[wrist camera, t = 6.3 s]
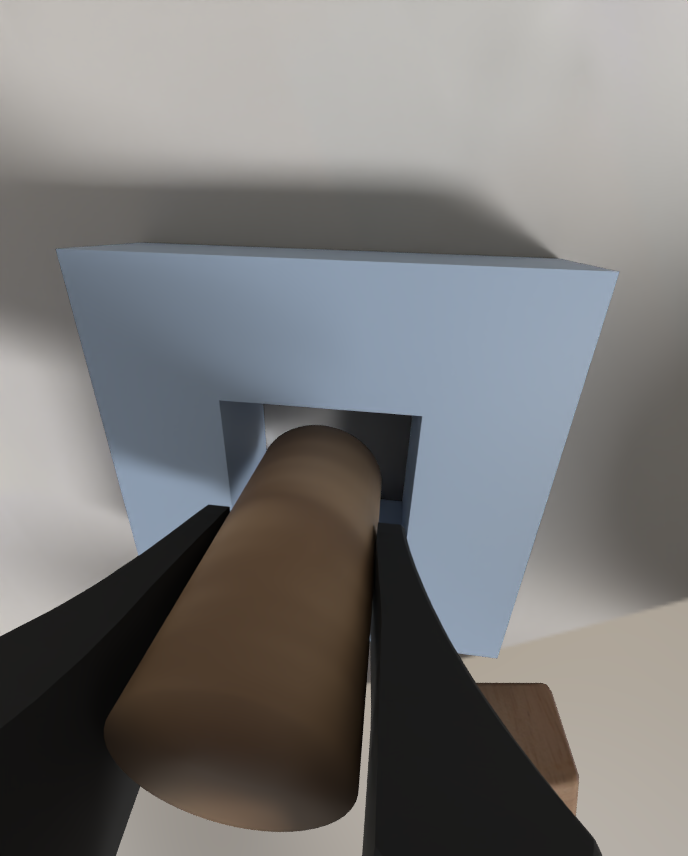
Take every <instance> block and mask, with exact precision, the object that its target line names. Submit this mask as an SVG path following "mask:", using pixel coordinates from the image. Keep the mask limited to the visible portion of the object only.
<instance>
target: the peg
mask: <svg viewBox="0 0 688 856" xmlns="http://www.w3.org/2000/svg"><path fill="white" fill-rule="evenodd" d="M381 483H382V480H381V472H380V469H379V466H378V463H377V461H376V459H375V457H374V456H373V454H372V453H371V452H370V450H369V449H368V448H367V447H366V446H365V445H364V444H363V443H362V442H361V441H360V440H358V439H357V438H355V437H354V436H352V435H350V434H349V433H347V432H345V431H342V430H340V429H337V428H333V427H329V426H322V425H309V426H302V427H298V428H295V429H292V430H289V431H287V432H285V433H284V434H282V435H281V436H279V437H278V438H277V439H276V440H275V441H273V443H272V444H271V445H270V446H269V448H268V449H267V451H266V453H265V454H264V456H263V458H262V459H261V461H260V463H259V464H258V466H257V468H256V469H255V471H254V473H253V474H252V476H251V478H250V480H249V481H248V483H247V485H246V486H245V488H244V490H243V491H242V493H241V495H240V496H239V498H238V500H237V501H236V503H235V505H234V506H233V508H232V510H231V511H230V513H229V515H228V516H227V518H226V520H225V521H224V523H223V525H222V526H221V528H220V530H219V531H218V533H217V535H216V536H215V538H214V540H213V541H212V543H211V545H210V546H209V548H208V550H207V551H206V553H205V555H204V556H203V558H202V560H201V561H200V563H199V565H198V567H197V568H196V570H195V572H194V573H193V575H192V577H191V578H190V580H189V582H188V583H187V585H186V587H185V588H184V590H183V592H182V593H181V595H180V597H179V598H178V600H177V602H176V603H175V605H174V607H173V608H172V610H171V612H170V613H169V615H168V617H167V618H166V620H165V622H164V623H163V625H162V627H161V628H160V630H159V632H158V633H157V635H156V637H155V638H154V640H153V642H152V643H151V645H150V647H149V648H148V650H147V652H146V654H145V655H144V657H143V659H142V660H141V662H140V664H139V665H138V667H137V669H136V670H135V672H134V674H133V675H132V677H131V679H130V680H129V682H128V684H127V685H126V687H125V689H124V690H123V692H122V694H121V695H120V697H119V699H118V700H117V702H116V704H115V705H114V707H113V709H112V710H111V712H110V714H109V716H108V717H107V719H106V721H105V726H104V739H105V743H106V747H107V749H108V751H109V753H110V755H111V756H112V758H113V759H114V761H115V762H116V764H117V765H118V766H119V767H120V768H121V769H122V770H123V772H124V773H125V774H127V775H128V776H129V777H130V778H131V779H132V780H133V781H134V782H136V783H137V784H138V785H140V786H141V787H142V788H143V789H145V790H146V791H148V792H150V793H151V794H153V795H154V796H156V797H158V798H159V799H161V800H163V801H165V802H166V803H169V804H170V805H173V806H175V807H177V808H179V809H181V810H184V811H186V812H188V813H191V814H193V815H196V816H199V817H202V818H205V819H207V820H211V821H214V822H218V823H221V824H225V825H229V826H234V827H239V828H244V829H251V830H260V831H271V832H293V831H303V830H309V829H315V828H319V827H322V826H325V825H328V824H330V823H333V822H335V821H337V820H339V819H340V818H342V817H343V816H345V815H346V814H347V813H348V812H349V811H350V810H351V809H352V807H353V806H354V804H355V802H356V800H357V796H358V789H359V777H360V776H359V775H360V763H361V750H362V735H363V724H364V709H365V697H366V684H367V670H368V657H369V644H370V631H371V617H372V604H373V591H374V574H375V552H376V539H377V527H378V522H379V511H380V498H381Z"/></svg>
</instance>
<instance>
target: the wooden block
mask: <svg viewBox="0 0 688 856" xmlns="http://www.w3.org/2000/svg"><path fill="white" fill-rule="evenodd" d="M476 684H477V686H478V687H479V689H480V690H481V692H482V693H483V695H484V696H485V698H486V699H487V700H488V702H489V703H490V705H491V706H492V708H493V709H494V710H495V712H496V713H497V715H498V716H499V718H500V719H501V720H502V722H503V723H504V725H505V726H506V728H507V729H508V731H509V732H510V733H511V735H512V736H513V738H514V739H515V740H516V742H517V743H518V744H519V746H520V747H521V748H522V750H523V751H524V752H525V754H526V755H527V756H528V757H529V759H530V760H531V761H532V763H533V764H534V765H535V767H536V768H537V769H538V771H539V772H540V773H541V775H542V776H543V777H544V778H545V780H546V781H547V782H548V783H549V784H550V786H551V787H552V788H553V789H554V791H555V792H556V793H557V794H558V796H559V797H560V798H561V799H562V801H563V802H564V803H565V804H566V806H567V807H568V808H569V809H570V810H571V811H572V813H573V814H574V815H575V816H576V808H577V807H576V806H577V796H578V784H579V775H578V772H577V769H576V765H575V762H574V759H573V757H572V753H571V750H570V747H569V744H568V741H567V738H566V735H565V732H564V729H563V725H562V722H561V719H560V716H559V713H558V710H557V707H556V704H555V701H554V698H553V695H552V692H551V690H550V689H549V687H548V686H547V685H546V684H543V683H476Z"/></svg>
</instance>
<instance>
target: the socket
mask: <svg viewBox="0 0 688 856" xmlns="http://www.w3.org/2000/svg"><path fill="white" fill-rule="evenodd" d="M56 252H57V256H58V260H59V263H60V267H61V271H62V274H63V278H64V282H65V285H66V289H67V293H68V296H69V300H70V304H71V308H72V311H73V315H74V319H75V322H76V326H77V330H78V333H79V337H80V341H81V344H82V348H83V352H84V356H85V359H86V363H87V367H88V370H89V374H90V378H91V381H92V385H93V389H94V393H95V396H96V400H97V404H98V407H99V411H100V415H101V418H102V422H103V426H104V429H105V433H106V437H107V441H108V444H109V448H110V452H111V455H112V459H113V463H114V466H115V470H116V474H117V477H118V481H119V485H120V489H121V492H122V496H123V500H124V503H125V507H126V511H127V514H128V518H129V522H130V526H131V529H132V533H133V537H134V540H135V544H136V548H137V551H138V555H140V554H142V553H143V552H145V551H146V550H147V549H149V548H150V547H152V546H153V545H154V544H156V543H157V542H158V541H160V540H161V539H162V538H164V537H165V536H167V535H168V534H169V533H171V532H172V531H173V530H175V529H176V528H177V527H179V526H180V525H181V524H183V523H184V522H185V521H187V520H188V519H189V518H190V517H192V516H193V515H194V514H196V513H197V512H198V511H200V510H201V509H203V508H204V507H205V506H207V505H208V504H209V505H219V506H228V507H230V511H231V510H232V508H233V506H234V505H235V503H236V501H237V500H238V498H239V496H240V495H241V493H242V491H243V490H244V488H245V486H246V485H247V483H248V481H249V480H250V478H251V476H252V474H253V473H254V471H255V469H256V468H257V466H258V464H259V463H260V461H261V459H262V458H263V456H264V454H265V453H266V437H265V422H264V407H263V404H273V405H286V406H299V407H312V408H324V409H337V410H350V411H363V412H376V413H389V414H402V415H412V421H411V430H410V439H409V447H408V456H407V465H406V473H405V482H404V491H403V499H402V501H393V500H383V499H380V511H379V522H381V523H390V524H400V525H402V526H403V527H404V528H405V532H406V537H407V541H408V545H409V548H410V551H411V554H412V557H413V560H414V563H415V566H416V568H417V571H418V574H419V576H420V578H421V581H422V583H423V585H424V588H425V590H426V593H427V595H428V597H429V599H430V601H431V604H432V606H433V608H434V610H435V612H436V614H437V616H438V618H439V620H440V622H441V624H442V626H443V628H444V630H445V631H446V633H447V635H448V637H449V639H450V641H451V643H452V644H453V646H454V648H455V650H456V651H457V653H460V654H467V655H475V656H482V657H490V658H498V654H499V651H500V648H501V645H502V642H503V639H504V635H505V632H506V629H507V626H508V623H509V620H510V616H511V613H512V610H513V607H514V604H515V601H516V597H517V594H518V591H519V588H520V585H521V582H522V579H523V575H524V572H525V569H526V566H527V563H528V560H529V556H530V553H531V550H532V547H533V544H534V541H535V537H536V534H537V531H538V528H539V525H540V522H541V518H542V515H543V512H544V509H545V506H546V503H547V499H548V496H549V493H550V490H551V487H552V484H553V480H554V477H555V474H556V471H557V468H558V465H559V461H560V458H561V455H562V452H563V449H564V446H565V443H566V439H567V436H568V433H569V430H570V427H571V424H572V420H573V417H574V414H575V411H576V408H577V405H578V401H579V398H580V395H581V392H582V389H583V386H584V382H585V379H586V376H587V373H588V370H589V367H590V363H591V360H592V357H593V354H594V351H595V348H596V344H597V341H598V338H599V335H600V332H601V329H602V325H603V322H604V319H605V316H606V313H607V310H608V307H609V303H610V300H611V297H612V294H613V291H614V288H615V284H616V281H617V278H618V275H619V271H614V270H609V269H605V268H600V267H596V266H591V265H586V264H582V263H577V262H573V261H568V260H563V259H558V258H532V257H506V256H480V255H454V254H428V253H402V252H376V251H349V250H323V249H297V248H271V247H245V246H219V245H193V244H167V243H129V244H115V245H101V246H87V247H73V248H58V249H56Z"/></svg>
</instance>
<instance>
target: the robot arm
mask: <svg viewBox="0 0 688 856" xmlns="http://www.w3.org/2000/svg"><path fill="white" fill-rule="evenodd" d="M229 513H230V507H228V506H219V505H209V504H208V505H207V506H205V507H204V508H203V509H201V510H200V511H198V512H197V513H196V514H194V515H193V516H192V517H190V518H189V519H188V520H187V521H185V522H184V523H183V524H181V525H180V526H179V527H177V528H176V529H175V530H173V531H172V532H171V533H169V534H168V535H167V536H165V537H164V538H162V539H161V540H160V541H158V542H157V543H156V544H154V545H153V546H152V547H150V548H149V549H147V550H146V551H145V552H143V553H142V554H140V555H139V556H137V557H136V558H135V559H133V560H132V561H130V562H129V563H127V564H126V565H124V566H123V567H121V568H120V569H118V570H117V571H115V572H114V573H112V574H111V575H109V576H108V577H106V578H105V579H103V580H102V581H100V582H99V583H97V584H95V585H94V586H92V587H90V588H89V589H87V590H86V591H84V592H82V593H80V594H79V595H77V596H75V597H74V598H72V599H70V600H68V601H67V602H65V603H63V604H61V605H60V606H58V607H56V608H54V609H53V610H51V611H49V612H47V613H45V614H43V615H41V616H39V617H37V618H35V619H33V620H31V621H29V622H27V623H26V624H24V625H22V626H20V627H18V628H16V629H14V630H12V631H10V632H8V633H6V634H4V635H2V636H0V856H116V854H117V851H118V848H119V845H120V842H121V839H122V836H123V833H124V831H125V828H126V825H127V822H128V819H129V816H130V813H131V810H132V808H133V805H134V802H135V800H136V796H137V794H138V791H139V788H140V785H138V784H137V783H136V782H134V781H133V780H132V779H131V778H130V777H129V776H128V775H127V774H125V773H124V772H123V770H122V769H121V768H120V767H119V766H118V765H117V764H116V762H115V761H114V759H113V758H112V756H111V755H110V753H109V751H108V749H107V747H106V743H105V739H104V726H105V721H106V719H107V717H108V716H109V714H110V712H111V710H112V709H113V707H114V705H115V704H116V702H117V700H118V699H119V697H120V695H121V694H122V692H123V690H124V689H125V687H126V685H127V684H128V682H129V680H130V679H131V677H132V675H133V674H134V672H135V670H136V669H137V667H138V665H139V664H140V662H141V660H142V659H143V657H144V655H145V654H146V652H147V650H148V648H149V647H150V645H151V643H152V642H153V640H154V638H155V637H156V635H157V633H158V632H159V630H160V628H161V627H162V625H163V623H164V622H165V620H166V618H167V617H168V615H169V613H170V612H171V610H172V608H173V607H174V605H175V603H176V602H177V600H178V598H179V597H180V595H181V593H182V592H183V590H184V588H185V587H186V585H187V583H188V582H189V580H190V578H191V577H192V575H193V573H194V572H195V570H196V568H197V567H198V565H199V563H200V561H201V560H202V558H203V556H204V555H205V553H206V551H207V550H208V548H209V546H210V545H211V543H212V541H213V540H214V538H215V536H216V535H217V533H218V531H219V530H220V528H221V526H222V525H223V523H224V521H225V520H226V518H227V516H228V515H229ZM370 650H371V731H370V748H369V762H368V777H367V792H366V807H365V823H364V837H363V853H362V856H602V854H601V852H600V849H599V847H598V845H597V843H596V841H595V839H594V838H593V837H592V835H591V834H590V833H589V832H588V831H587V829H586V828H585V827H584V826H583V825H582V823H581V822H580V821H579V820H578V819H577V817H576V816H575V815H574V814H573V813H572V811H571V810H570V809H569V808H568V807H567V806H566V804H565V803H564V802H563V801H562V799H561V798H560V797H559V796H558V794H557V793H556V792H555V791H554V789H553V788H552V787H551V786H550V784H549V783H548V782H547V781H546V780H545V778H544V777H543V776H542V775H541V773H540V772H539V771H538V769H537V768H536V767H535V765H534V764H533V763H532V761H531V760H530V759H529V757H528V756H527V755H526V754H525V752H524V751H523V750H522V748H521V747H520V746H519V744H518V743H517V742H516V740H515V739H514V738H513V736H512V735H511V733H510V732H509V731H508V729H507V728H506V726H505V725H504V723H503V722H502V720H501V719H500V718H499V716H498V715H497V713H496V712H495V710H494V709H493V708H492V706H491V705H490V703H489V702H488V700H487V699H486V698H485V696H484V695H483V693H482V692H481V690H480V689H479V687H478V686H477V684H476V683H475V681H474V679H473V678H472V676H471V674H470V673H469V671H468V670H467V668H466V667H465V665H464V664H463V661H462V660H461V658H460V656H459V655H458V653H457V651H456V650H455V648H454V646H453V644H452V643H451V641H450V639H449V637H448V635H447V633H446V631H445V630H444V628H443V626H442V624H441V622H440V620H439V618H438V616H437V614H436V612H435V610H434V608H433V606H432V604H431V601H430V599H429V597H428V595H427V593H426V590H425V588H424V585H423V583H422V581H421V578H420V576H419V574H418V571H417V568H416V566H415V563H414V560H413V557H412V554H411V551H410V548H409V545H408V541H407V537H406V532H405V528H404V527H403V526H402V525H400V524H390V523H381V522H378V527H377V539H376V552H375V574H374V591H373V604H372V617H371V631H370Z"/></svg>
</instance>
